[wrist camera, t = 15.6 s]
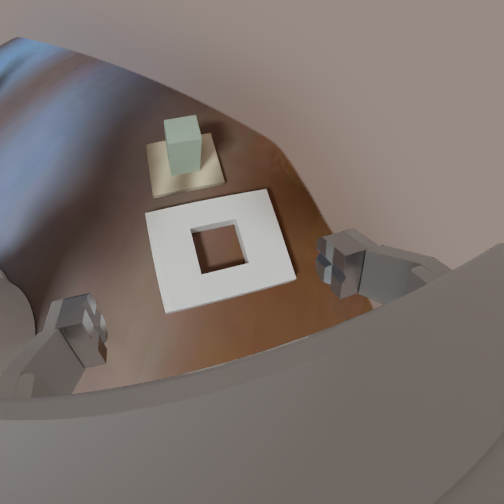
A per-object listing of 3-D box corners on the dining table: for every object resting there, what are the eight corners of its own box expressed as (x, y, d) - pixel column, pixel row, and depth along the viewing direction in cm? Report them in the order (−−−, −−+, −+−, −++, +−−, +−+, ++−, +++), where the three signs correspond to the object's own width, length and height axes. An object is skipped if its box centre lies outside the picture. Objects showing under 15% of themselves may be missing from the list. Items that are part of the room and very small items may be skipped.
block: (171, 176, 41) (167, 144, 34) (166, 153, 42) (163, 120, 35) (199, 170, 42) (201, 138, 35) (194, 148, 43) (195, 115, 36)
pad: (153, 198, 41) (153, 196, 40) (146, 147, 43) (145, 144, 42) (224, 184, 43) (224, 181, 43) (210, 135, 46) (210, 133, 45)
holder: (167, 314, 36) (165, 313, 34) (147, 218, 40) (145, 213, 38) (291, 281, 41) (296, 278, 39) (263, 195, 44) (266, 188, 42)
